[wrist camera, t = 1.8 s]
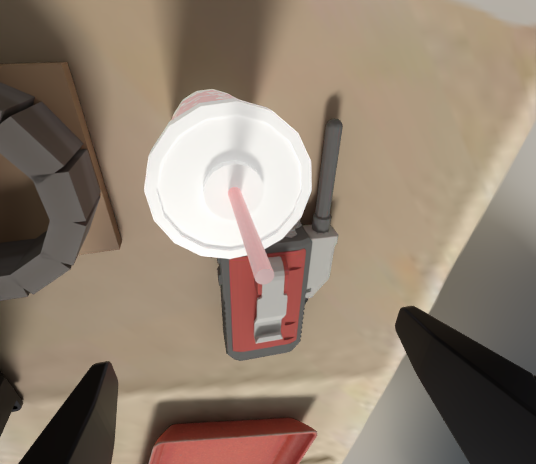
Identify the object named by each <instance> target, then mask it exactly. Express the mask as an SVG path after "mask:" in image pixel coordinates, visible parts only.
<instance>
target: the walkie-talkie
mask: <svg viewBox="0 0 536 464" xmlns="http://www.w3.org/2000/svg"><path fill="white" fill-rule="evenodd" d="M342 127H343V126H342V123H341V121H340V120H339V119H331V120H329V121H328V122H327V124H326V129H325V137H324V145H323V154H322V162H321V170H320V179H319V187H318V195H317V203H316V212H315V213H314V214H313V222H312V225H303V226H302V224H301V222H300V219H299V220H298V222H297V223H296V224H295V225H294V226H293V227H292V229H291V230H290V231H289V232H288V233H287V234H286V235H285V237H284V238H283V239H281V240H279V241H278V242H276V243H274V244H273V245H271V246H269V247H267V248H266V249H265V252H266V254H267V257H268V259H269V262H270V264H271V267H272V269H273V272H274V279H273V280H272V281H271V282H270V283H268V284H264V285H263V284H259V283H257V282H256V281H255V278H254V275H253V272H252V269H251V265H250V262H249V259H248V256H247V255H246V256H242V257H237V258H233V259H225V258H217V261H218V263H219V267H218V268H217V270H218V280H219V286H221V298H222V299H221V301H222V316H223V333H224V340H225V346H226V353H227V354H228V355H229V356H231V357H232V358H233V359H235V360H239V361H242V360H248V359H254V358H259V357H265V356H270V355H276V354H281V353H286V352H290V351H292V350H293V349H294V348H295V347H296V345H297V344H298V343H299V342H300V341H301V340H300V338H301V333H302V331H301V329H302V324H303V322H302V320H303V315H304V312H303V310H304V309H305V308H304V306H305V303H306V302H307V301H308V298H311V297H313V295H314V294H315V293H316V292H317V291H318V290H319V289H320V287H321V286H322V285H323V284H324V283H325V282H326V281H327V280H328V279H329V277H330V271H331V265H332V259H333V253H334V247H335V245H336V244H337V240H338V234H337V232H336V231H335V230H334V229H333V227H332V226H331V225H330V222H331V215H330V208H331V201H332V194H333V188H334V181H335V174H336V168H337V161H338V154H339V147H340V141H341V134H342Z"/></svg>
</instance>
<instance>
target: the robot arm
mask: <svg viewBox="0 0 536 464" xmlns="http://www.w3.org/2000/svg"><path fill="white" fill-rule="evenodd" d="M395 329H396V332H397V334H398V336H399V338H400V340H401V343H402V345H403V347H404V349H405V351H406V353H407V355H408V357H409V360H410V362H411V364H412V366H413V368H414V370H415V372H416V374H417V376H418V377H419V379H420V381H421V383H422V384H423V386H424V387H425V389H426V391H427V393H428V394H429V395H430V397H431V399H432V401H433V403H434V404H435V406H436V408H437V409H438V411H439V413H440V414H441V416H442V418H443V420H444V421H445V423H446V425H447V426H448V428H449V430H450V431H451V433H452V435H453V436H454V438H455V440H456V441H457V443H458V445H459V446H460V448H461V450H462V451H463V453H464V455H465V456H466V458H467V460H468V461H469V463H470V464H536V376H535V375H534V376H533V374H532V373H530V372H528V371H526V370H525V369H523V368H521V367H520V366H518V365H516V364H514V363H513V362H511V361H509V360H507V359H505V358H504V357H502V356H500V355H499V354H497V353H495V352H493V351H492V350H490V349H488V348H486V347H485V346H483V345H481V344H479V343H478V342H476V341H474V340H472V339H471V338H469V337H467V336H465V335H464V334H462V333H460V332H458V331H457V330H455V329H453V328H451V327H450V326H448V325H446V324H444V323H443V322H441V321H439V320H437V319H436V318H434V317H432V316H431V315H429V314H427V313H425V312H424V311H422V310H420V309H418V308H417V307H415V306H407V307H402V308H401V309H400V311H399V314H398V317H397V320H396V323H395ZM117 398H118V379H117V376H116V374H115V371H114V369H113V366H112V364H111V363H110V362H109V361H106V362H100V363H96V364H94V365H92V366H91V368H90V369H89V370H88V372H87V373H86V374H85V376H84V377H83V378H82V380H81V381H80V382H79V384H78V385H77V386H76V388H75V389H74V390H73V392H72V393H71V394H70V396H69V397H68V398H67V400H66V401H65V402H64V404H63V405H62V406H61V408H60V409H59V410H58V412H57V413H56V414H55V416H54V417H53V418H52V420H51V421H50V422H49V424H48V425H47V426H46V428H45V429H44V430H43V431H42V433H41V434H40V435H39V437H38V438H37V439H36V441H35V442H34V443H33V445H32V446H31V447H30V449H29V450H28V451H27V453H26V454H25V455H24V457H23V458H22V459H21V461H20V462H19V463H18V464H111V461H112V455H113V449H114V441H115V428H116V413H117ZM22 405H23V401H22V400H21V398H20V397H19V396H18V394H17V393H16V391H15V390H14V389H13V387H12V386H11V385H10V383H9V382H8V381H7V379H6V378H5V377H4V375H3V374H2V372H1V371H0V436H1V434H2V432H3V430H4V427H5V425H6V423H7V421H8V418H9V416H10V414H11V412H15V411H18V410H20V409H21V407H22Z"/></svg>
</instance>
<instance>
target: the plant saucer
mask: <svg viewBox="0 0 536 464" xmlns="http://www.w3.org/2000/svg"><path fill="white" fill-rule="evenodd" d="M316 436H317V431H315V430H314V429H313V428H311V427H309V426H308V425H306V424H304V423H302V422H300V421H298V420H295V419H293V418H275V419H258V420H240V421H221V422H202V423H183V424H174V425H171V426H170V427H169V428H168V429H167V430H166V431H165V432H164V433H163V434H162V435H161V436H160V437H159V438H158V440H157V441H156V443H155V444H154V446H153V449H152V453H151V456H150V460H149V464H299V463H300V461H301V460H302V458H303V456H304V455H305V453H306V452H307V451H308V449H309V447H310V446H311V445H312V443H313V441H314V440H315V438H316Z"/></svg>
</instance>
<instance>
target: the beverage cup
mask: <svg viewBox="0 0 536 464" xmlns="http://www.w3.org/2000/svg"><path fill="white" fill-rule="evenodd" d="M311 191H312V184H311V160H310V158H309V155H308V153H307V151H306V149H305V147H304V144H303V142H302V140H301V138H300V136H299V134H298V132H296V131H295V130H294V129H293V128H292V127H291V126H290V125H288V124H287V123H286V122H285V121H284V120H283V119H281V118H280V117H279V116H278V115H277V114H276V113H274V112H273V111H272V110H271V109H268V108H267V107H263V106H260V105H256V104H253V103H249V102H246V101H243V100H239V99H237V98H235V97H233V96H231V95H230V94H228V93H225V92H221V91H218V90H214V89H208V90H200V91H196V92H194V93H192V94H191V95H189V96H188V97H186V98H184V99H183V100H182V102H181V103H180V105H179V106H178V108H177V109H176V111H175V112H174V115H173V117H172V120H171V121H170V122H169V123H168V125H167V126H166V128H165V129H164V131H163V132H162V134H161V136H160V137H159V139H158V140H157V142H156V143H155V145H154V146H153V148H152V149H151V152H150V154H149V157H148V164H147V172H146V180H145V187H144V192H145V195H146V198H147V201H148V204H149V207H150V210H151V213H152V216H153V219H154V221H155V222H156V223H157V224H158V225H159V227H160V228H161V229H162V230H163V231H164V232H165V233H166V234H167V235H168V236H169V238H170V239H171V240H172V241H173V242H174V243H176V244H178V245H180V246H182V247H184V248H186V249H188V250H190V251H192V252H194V253H196V254H198V255H200V256H206V257H216V258H225V259H233V258H237V257H242V256H246V255H247V256H248V259H249V262H250V265H251V269H252V272H253V275H254V278H255V281H256V282H257V283H259V284H263V285H264V284H268V283H270V282H271V281H272V280H273V279H274V272H273V269H272V267H271V264H270V262H269V259H268V257H267V254H266V252H265V249H266V248H267V247H269V246H271V245H273V244H274V243H276V242H278V241H279V240H281V239H283V238H284V237H285V235H286V234H287V233H288V232H289V231H290V230H291V229H292V227H293V226H294V225H295V224H296V223H297V222H298V220H299V219H300V218H301V217H302V214H303V212H304V209H305V206H306V204H307V201H308V199H309V196H310V193H311Z"/></svg>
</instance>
